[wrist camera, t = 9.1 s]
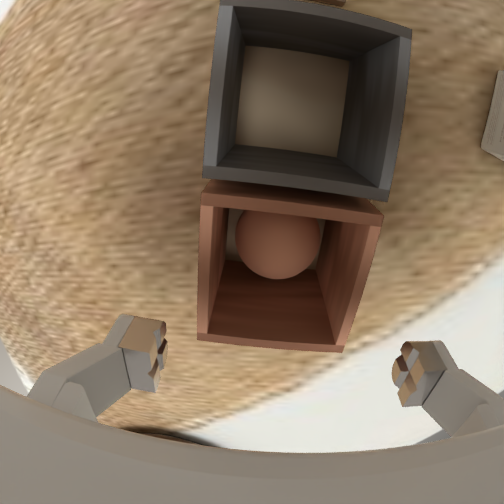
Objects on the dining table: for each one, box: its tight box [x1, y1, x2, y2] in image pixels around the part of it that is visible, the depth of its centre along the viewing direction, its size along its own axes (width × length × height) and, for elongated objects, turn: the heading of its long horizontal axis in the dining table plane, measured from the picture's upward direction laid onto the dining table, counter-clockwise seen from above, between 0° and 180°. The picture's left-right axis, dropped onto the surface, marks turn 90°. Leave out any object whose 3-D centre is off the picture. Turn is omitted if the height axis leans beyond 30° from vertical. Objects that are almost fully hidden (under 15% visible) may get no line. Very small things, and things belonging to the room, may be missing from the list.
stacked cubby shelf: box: [197, 0, 412, 353], centre depth 16 cm, size 16×9×9 cm, turn 174°
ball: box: [235, 210, 320, 279], centre depth 19 cm, size 5×5×5 cm
